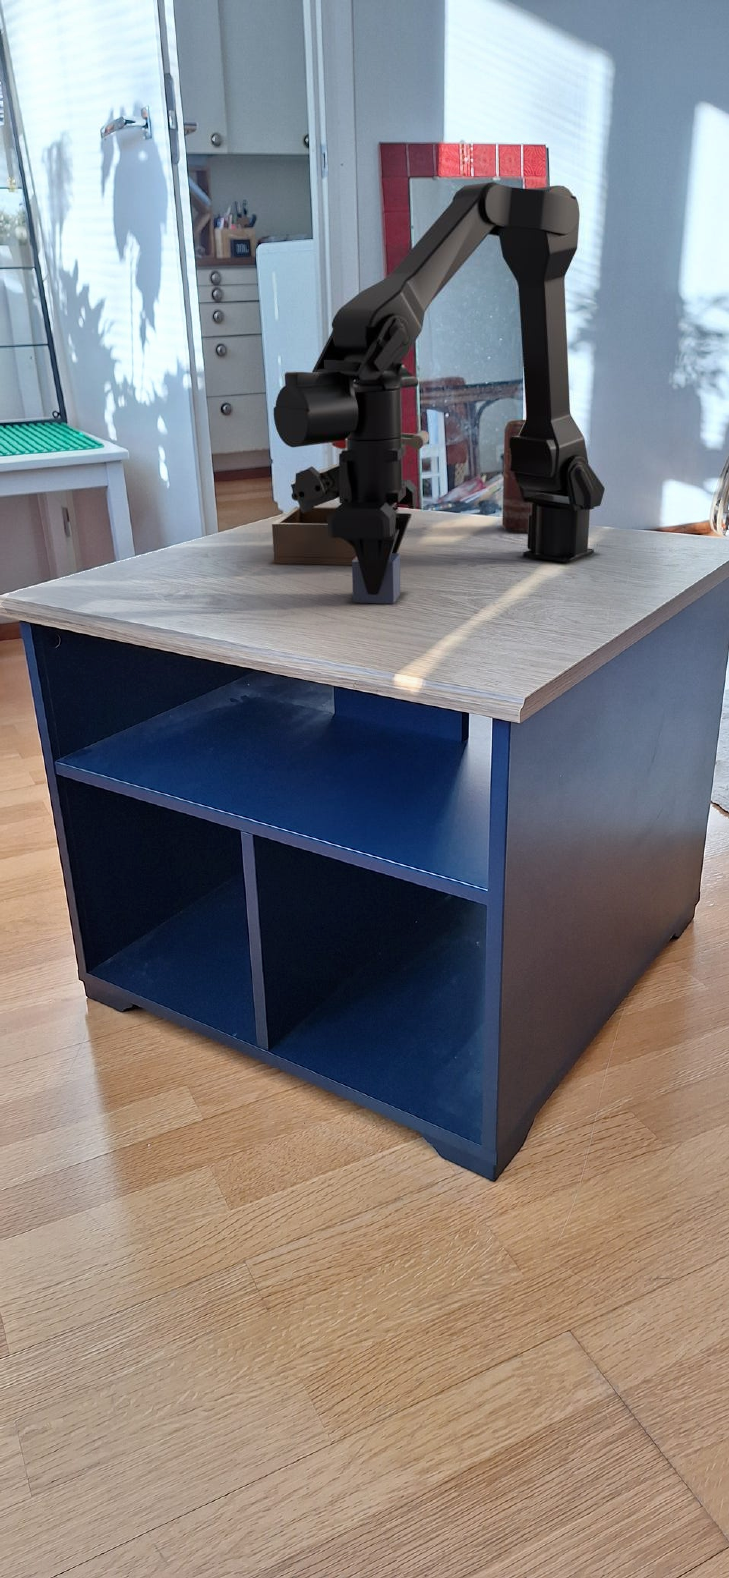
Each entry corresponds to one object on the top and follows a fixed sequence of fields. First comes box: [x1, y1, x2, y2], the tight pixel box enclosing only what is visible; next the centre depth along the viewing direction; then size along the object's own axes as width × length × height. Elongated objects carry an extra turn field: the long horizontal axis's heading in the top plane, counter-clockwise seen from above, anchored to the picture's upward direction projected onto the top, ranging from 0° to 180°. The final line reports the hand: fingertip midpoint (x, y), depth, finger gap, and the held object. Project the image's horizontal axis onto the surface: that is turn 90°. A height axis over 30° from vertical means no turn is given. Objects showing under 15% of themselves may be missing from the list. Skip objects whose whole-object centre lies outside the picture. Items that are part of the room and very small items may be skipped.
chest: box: [271, 506, 357, 566], centre depth 139 cm, size 13×12×5 cm
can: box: [501, 419, 533, 534], centre depth 148 cm, size 6×6×14 cm
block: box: [351, 552, 402, 605], centre depth 119 cm, size 4×4×4 cm
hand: (377, 588), depth 119 cm, fingers closed on block, 4 cm apart
